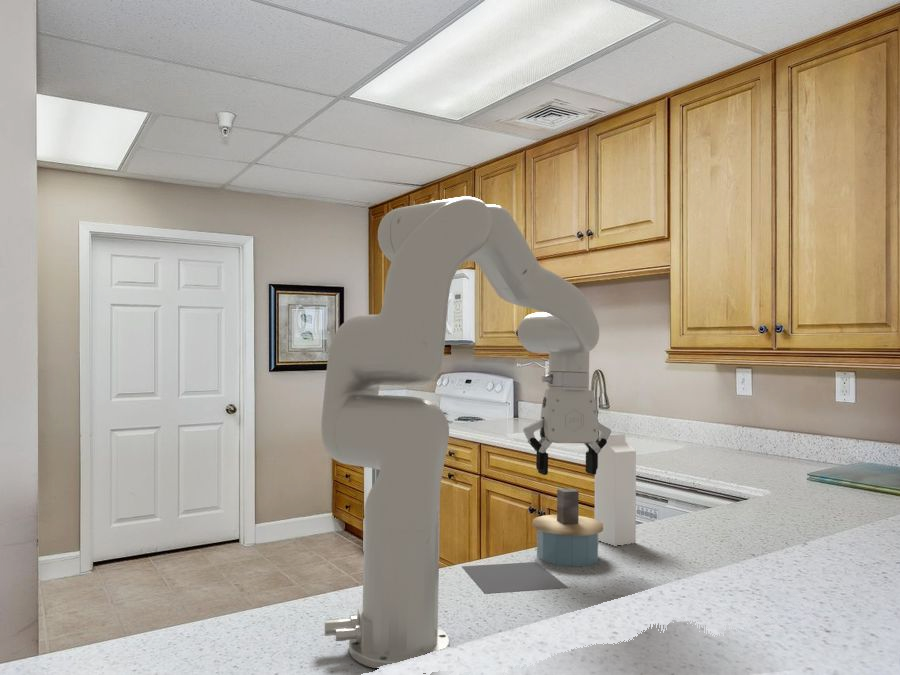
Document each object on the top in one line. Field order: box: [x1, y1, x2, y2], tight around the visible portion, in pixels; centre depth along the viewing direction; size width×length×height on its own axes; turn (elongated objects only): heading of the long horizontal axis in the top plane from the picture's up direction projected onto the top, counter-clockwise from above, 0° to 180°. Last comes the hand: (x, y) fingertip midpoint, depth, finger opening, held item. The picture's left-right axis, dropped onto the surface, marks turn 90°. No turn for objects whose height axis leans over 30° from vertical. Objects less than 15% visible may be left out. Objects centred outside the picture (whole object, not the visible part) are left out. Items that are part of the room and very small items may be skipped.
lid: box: [532, 488, 603, 536], centre depth 122 cm, size 13×13×7 cm
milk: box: [593, 433, 637, 547], centre depth 135 cm, size 6×6×22 cm
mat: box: [461, 561, 569, 595], centre depth 110 cm, size 14×14×1 cm
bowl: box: [536, 529, 599, 567], centre depth 122 cm, size 11×11×6 cm
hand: (567, 473), depth 122 cm, fingers open, 9 cm apart
